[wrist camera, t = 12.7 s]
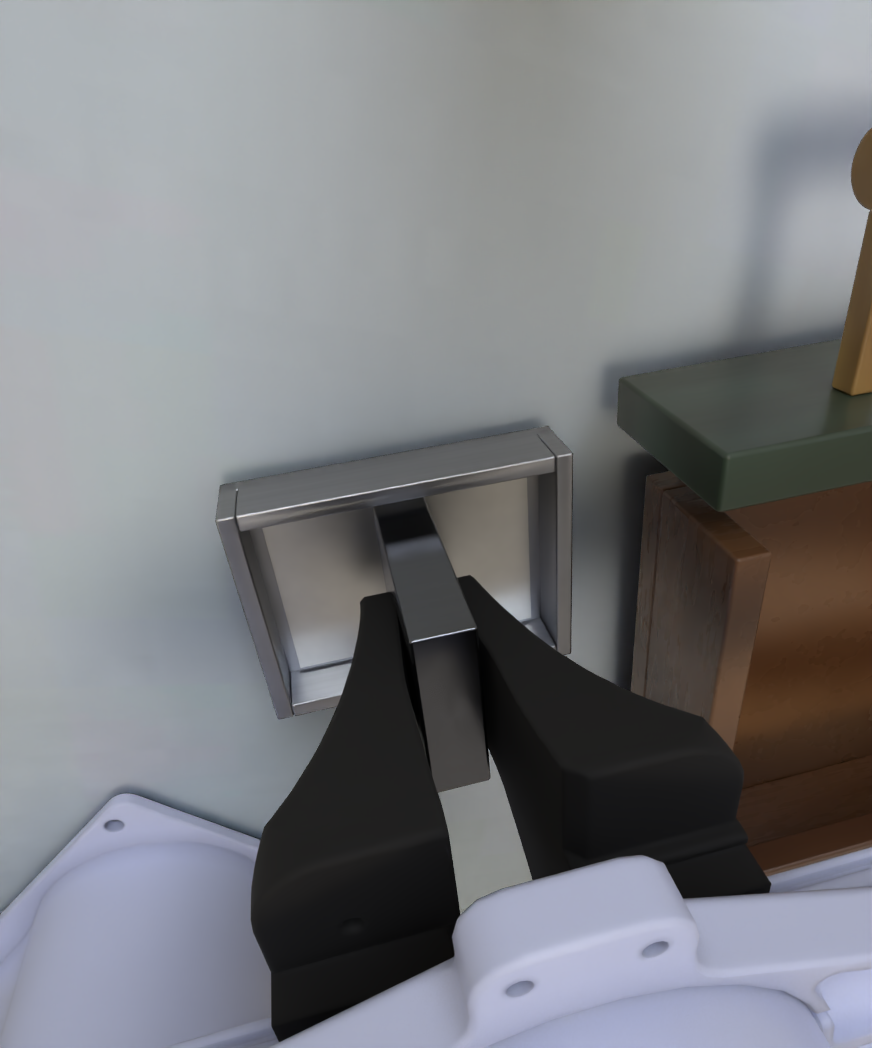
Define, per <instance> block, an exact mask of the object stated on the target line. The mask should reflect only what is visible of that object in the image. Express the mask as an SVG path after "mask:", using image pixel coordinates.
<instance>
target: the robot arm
mask: <svg viewBox="0 0 872 1048" xmlns="http://www.w3.org/2000/svg"><path fill="white" fill-rule="evenodd" d="M457 579H458V581H459V584H460V586H461V588H462V591H463V593H464V596H465V598H466V601H467V603H468V605H469V608H470V610H471V613H472V615H473V618H474V620H475V622H476V625H477V627H478V637H479V648H480V660H481V672H482V684H483V695H484V707H485V719H486V731H487V742H488V748H489V750H490V753H491V755H492V757H493V760H494V762H495V764H496V767H497V769H498V772H499V774H500V777H501V780H502V782H503V785H504V788H505V791H506V794H507V798H508V801H509V804H510V807H511V810H512V813H513V817H514V820H515V823H516V826H517V829H518V833H519V836H520V839H521V843H522V846H523V849H524V852H525V856H526V859H527V862H528V866H529V869H530V872H531V876H532V879H533V880H532V881H529V882H525V883H521V884H518V885H514V886H510V887H506V888H503V889H500V890H498V891H495V892H493V893H491V894H488V895H486V896H484V897H482V898H479V899H477V900H476V901H475V902H474V903H473V904H472V905H470V906H469V907H468V908H467V909H466V910H465V911H464V912H463V913H462V914H461V915H460V909H459V902H458V895H457V888H456V881H455V874H454V867H453V860H452V853H451V846H450V839H449V833H448V829H447V825H446V821H445V817H444V813H443V809H442V805H441V802H440V799H439V795H438V792H437V789H436V786H435V783H434V780H433V777H432V773H431V770H430V767H429V764H428V760H427V757H426V754H425V750H424V747H423V743H422V740H421V737H420V733H419V729H418V726H417V722H416V719H415V715H414V712H413V707H412V701H411V695H410V689H409V683H408V676H407V670H406V664H405V658H404V652H403V646H402V640H401V634H400V628H399V622H398V615H397V612H396V608H395V605H394V602H393V599H392V595H391V592H385V593H381V594H376V595H371V596H366V597H364V598H363V599H362V600H361V601H360V623H359V630H358V637H357V642H356V646H355V651H354V655H353V659H352V663H351V667H350V670H349V673H348V676H347V680H346V683H345V686H344V689H343V692H342V695H341V698H340V700H339V703H338V705H337V708H336V710H335V713H334V715H333V717H332V720H331V722H330V724H329V726H328V728H327V730H326V732H325V734H324V736H323V738H322V740H321V742H320V745H319V746H318V748H317V750H316V752H315V754H314V756H313V757H312V759H311V761H310V762H309V764H308V766H307V767H306V769H305V770H304V772H303V774H302V775H301V777H300V778H299V780H298V782H297V783H296V785H295V786H294V788H293V789H292V791H291V792H290V794H289V795H288V797H287V798H286V799H285V801H284V802H283V803H282V805H281V806H280V807H279V809H278V810H277V811H276V813H275V814H274V815H273V817H272V818H271V819H270V820H269V822H268V823H267V824H266V826H265V827H264V830H263V833H262V837H261V840H259V839H257V838H254V837H251V836H248V835H246V834H243V833H240V832H237V831H235V830H232V829H229V828H226V827H224V826H221V825H218V824H215V823H213V822H210V821H207V820H204V819H202V818H199V817H196V816H193V815H191V814H188V813H185V812H182V811H179V810H177V809H174V808H171V807H168V806H166V805H163V804H160V803H157V802H155V801H152V800H149V799H146V798H144V797H141V796H138V795H135V794H131V793H125V794H120V795H117V796H115V797H113V798H112V799H110V800H109V801H108V802H107V803H106V804H105V805H104V807H103V808H102V809H101V810H100V811H99V812H98V813H97V814H96V815H95V816H94V817H93V818H92V819H91V820H90V821H89V822H88V823H87V824H86V825H85V826H84V827H83V828H82V829H81V831H80V832H79V833H78V834H77V835H76V836H75V837H74V838H73V839H72V840H71V841H70V842H69V843H68V844H67V845H66V846H65V847H64V848H63V849H62V850H61V851H60V852H59V854H58V855H57V856H56V857H55V858H54V859H53V860H52V861H51V862H50V863H49V864H48V865H47V866H46V867H45V868H44V869H43V870H42V871H41V872H40V873H39V874H38V875H37V877H36V878H35V879H34V880H33V881H32V882H31V883H30V884H29V885H28V886H27V887H26V888H25V889H24V890H23V891H22V892H21V893H20V894H19V895H18V896H17V897H16V898H15V899H14V901H13V902H12V903H11V904H10V905H9V906H8V907H7V908H6V909H5V910H4V911H3V912H2V913H1V914H0V1048H872V847H870V848H866V849H863V850H859V851H856V852H852V853H848V854H845V855H841V856H838V857H834V858H831V859H827V860H824V861H820V862H817V863H813V864H810V865H806V866H803V867H799V868H795V869H792V870H788V871H785V872H781V873H778V874H774V875H771V876H766V875H765V873H764V872H763V870H762V869H761V867H760V866H759V864H758V863H757V861H756V859H755V858H754V856H753V855H752V853H751V852H750V850H749V849H748V847H747V846H746V843H747V842H748V836H747V833H746V831H745V830H744V828H743V827H742V826H741V824H740V823H739V821H738V820H737V818H736V815H737V810H738V806H739V801H740V796H741V792H742V787H743V779H744V770H743V768H742V766H741V763H740V761H739V759H738V758H737V757H736V755H735V754H734V753H733V751H732V750H731V749H730V747H729V746H728V745H727V743H726V742H725V741H724V740H723V739H722V737H721V736H720V735H719V734H718V733H717V732H716V731H715V730H714V729H713V728H712V727H711V726H710V725H709V723H708V722H707V721H706V720H705V719H704V718H703V717H701V716H698V715H694V714H691V713H688V712H685V711H682V710H679V709H676V708H673V707H669V706H666V705H663V704H660V703H658V702H655V701H653V700H650V699H648V698H645V697H643V696H640V695H638V694H635V693H633V692H631V691H628V690H626V689H624V688H622V687H619V686H617V685H615V684H613V683H611V682H609V681H607V680H605V679H603V678H601V677H599V676H597V675H595V674H594V673H592V672H590V671H588V670H586V669H585V668H583V667H581V666H580V665H578V664H576V663H575V662H573V661H572V660H570V659H568V658H567V657H565V656H564V655H562V654H561V653H559V652H558V651H557V650H555V649H554V648H552V647H551V646H550V645H548V644H547V643H546V642H544V641H543V640H542V639H540V638H539V637H538V636H536V635H535V634H534V633H533V632H531V631H530V630H529V629H528V628H526V627H525V626H524V625H523V624H522V623H521V622H519V621H518V620H517V619H516V618H515V617H514V616H513V615H511V614H510V613H509V612H508V611H507V610H506V609H505V608H504V607H503V606H502V605H500V604H499V603H498V602H497V601H496V600H495V599H494V598H493V597H492V596H491V595H490V594H489V593H488V592H487V591H486V590H485V589H484V588H483V587H482V586H481V584H480V583H479V582H478V581H477V580H476V579H475V578H474V577H472V576H471V575H467V576H462V577H458V578H457Z"/></svg>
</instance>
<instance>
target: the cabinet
mask: <svg viewBox="0 0 872 1048" xmlns="http://www.w3.org/2000/svg"><path fill="white" fill-rule="evenodd" d="M870 847H872V812H871V813H867V814H863V815H860V816H856V817H852V818H849V819H845V820H842V821H838V822H834V823H831V824H827V825H824V826H820V827H816V828H813V829H809V830H805V831H802V832H798V833H795V834H791V835H787V836H784V837H780V838H776V839H773V840H769V841H766V842H762V843H758V844H755V845H751V846H748V849H749V850H750V852H751V853H752V855H753V856H754V858H755V859H756V861H757V863H758V864H759V866H760V867H761V869H762V870H763V872H764V873H765V875H766V876H771V875H774V874H778V873H781V872H785V871H788V870H792V869H795V868H799V867H803V866H806V865H810V864H813V863H817V862H820V861H824V860H827V859H831V858H834V857H838V856H841V855H845V854H848V853H852V852H856V851H859V850H863V849H866V848H870Z"/></svg>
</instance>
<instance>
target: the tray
mask: <svg viewBox="0 0 872 1048" xmlns="http://www.w3.org/2000/svg"><path fill="white" fill-rule="evenodd" d="M572 499H573V453H572V452H571V451H570V450H569V449H568V447H567V446H566V445H565V444H564V443H563V442H562V441H561V440H560V439H559V438H558V436H557V435H556V434H555V433H554V432H553V431H552V430H551V429H550V428H549V427H548V426H543V427H538V428H532V429H527V430H521V431H516V432H510V433H505V434H499V435H494V436H488V437H483V438H477V439H472V440H466V441H461V442H455V443H450V444H444V445H438V446H433V447H427V448H422V449H416V450H411V451H405V452H400V453H394V454H389V455H383V456H378V457H372V458H367V459H361V460H356V461H350V462H345V463H339V464H334V465H328V466H323V467H317V468H312V469H306V470H301V471H295V472H289V473H284V474H278V475H273V476H267V477H262V478H256V479H251V480H245V481H240V482H234V483H229V484H223V485H220V489H219V497H218V505H217V513H216V520H215V522H216V525H217V528H218V531H219V534H220V537H221V541H222V544H223V547H224V550H225V553H226V556H227V560H228V563H229V566H230V569H231V572H232V575H233V579H234V582H235V585H236V588H237V591H238V594H239V598H240V601H241V604H242V607H243V610H244V613H245V617H246V620H247V623H248V626H249V629H250V633H251V636H252V639H253V642H254V645H255V648H256V652H257V655H258V658H259V661H260V664H261V667H262V671H263V674H264V677H265V680H266V683H267V686H268V690H269V693H270V696H271V699H272V702H273V705H274V709H275V712H276V715H277V718H278V719H284V718H289V717H292V716H293V715H295V716H297V715H302V714H306V713H311V712H315V711H320V710H324V709H328V708H333V707H337V705H338V703H339V700H340V698H341V695H342V692H343V689H344V686H345V683H346V680H347V676H348V673H349V670H350V667H351V663H352V659H353V655H354V651H355V646H356V642H357V637H358V630H359V623H360V601H361V600H362V599H363V598H364V597H366V596H371V595H376V594H381V593H385V592H391V595H392V599H393V602H394V605H395V608H396V612H397V615H398V622H399V628H400V634H401V640H402V646H403V652H404V658H405V664H406V670H407V676H408V683H409V689H410V695H411V701H412V707H413V712H414V715H415V719H416V722H417V726H418V729H419V733H420V737H421V740H422V743H423V747H424V750H425V754H426V757H427V760H428V764H429V767H430V770H431V773H432V777H433V780H434V783H435V786H436V789H437V792H442V791H446V790H450V789H454V788H458V787H462V786H466V785H470V784H474V783H478V782H482V781H486V780H489V779H490V766H489V754H488V742H487V731H486V719H485V707H484V695H483V684H482V672H481V660H480V648H479V637H478V627H477V625H476V622H475V620H474V618H473V615H472V613H471V610H470V608H469V605H468V603H467V601H466V598H465V596H464V593H463V591H462V588H461V586H460V584H459V581H458V579H457V578H458V577H462V576H467V575H471V576H472V577H474V578H475V579H476V580H477V581H478V582H479V583H480V584H481V586H482V587H483V588H484V589H485V590H486V591H487V592H488V593H489V594H490V595H491V596H492V597H493V598H494V599H495V600H496V601H497V602H498V603H499V604H500V605H502V606H503V607H504V608H505V609H506V610H507V611H508V612H509V613H510V614H511V615H513V616H514V617H515V618H516V619H517V620H518V621H519V622H521V623H522V624H523V625H524V626H525V627H526V628H528V629H529V630H530V631H531V632H533V633H534V634H535V635H536V636H538V637H539V638H540V639H542V640H543V641H544V642H546V643H547V644H548V645H550V646H551V647H552V648H554V649H555V650H557V651H558V652H559V653H561V654H562V655H567V654H570V653H571V610H572Z"/></svg>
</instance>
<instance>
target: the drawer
mask: <svg viewBox="0 0 872 1048" xmlns="http://www.w3.org/2000/svg"><path fill="white" fill-rule="evenodd" d="M851 183H852V188H853V192H854V195H855V197H856V199H857V200H858V202H859V203H860V204H861V205H862V206H863V207H865V208H867V209H869V210H870V212H869V215H868V220H867V225H866V229H865V234H864V238H863V243H862V248H861V252H860V257H859V261H858V266H857V271H856V275H855V280H854V284H853V289H852V294H851V298H850V303H849V307H848V312H847V317H846V321H845V326H844V330H843V335H842V339H837V340H832V341H826V342H820V343H814V344H809V345H803V346H797V347H792V348H786V349H780V350H775V351H769V352H763V353H757V354H752V355H746V356H740V357H735V358H729V359H723V360H718V361H712V362H706V363H700V364H695V365H689V366H683V367H678V368H672V369H666V370H660V371H655V372H649V373H643V374H638V375H632V376H626V377H621V378H620V379H619V389H618V411H617V424H618V426H619V427H620V428H621V429H622V430H624V431H625V432H626V433H627V434H628V435H629V436H630V437H632V438H633V439H634V440H635V441H636V442H637V443H639V444H640V445H641V446H642V447H643V448H644V449H645V450H647V451H648V452H649V453H650V454H651V455H652V456H653V457H655V458H656V459H657V460H658V461H659V462H660V463H661V464H663V465H664V466H665V467H666V468H667V469H668V470H670V471H667V472H662V473H657V474H652V475H647V476H646V488H645V502H644V515H643V529H642V543H641V556H640V570H639V584H638V598H637V611H636V625H635V639H634V653H633V666H632V680H631V692H633V693H635V694H638V695H640V696H643V697H645V698H648V699H650V700H653V701H655V702H658V703H660V704H663V705H666V706H669V707H673V708H676V709H679V710H682V711H685V712H688V713H691V714H694V715H698V716H701V717H703V718H704V719H705V720H706V721H707V722H708V723H709V725H710V726H711V727H712V728H713V729H714V730H715V731H716V732H717V733H718V734H719V735H720V736H721V737H722V739H723V740H724V741H725V742H726V743H727V745H728V746H729V747H730V749H731V750H732V751H733V753H734V754H735V755H736V757H737V758H738V759H739V761H740V763H741V766H742V768H743V770H744V779H743V787H742V792H741V796H740V801H739V806H738V810H737V815H736V818H737V820H738V821H739V823H740V824H741V826H742V827H743V828H744V830H745V831H746V833H747V836H748V842H747V843H746V846H747V847H748V846H751V845H755V844H758V843H762V842H766V841H769V840H773V839H776V838H780V837H784V836H787V835H791V834H795V833H798V832H802V831H805V830H809V829H813V828H816V827H820V826H824V825H827V824H831V823H834V822H838V821H842V820H845V819H849V818H852V817H856V816H860V815H863V814H867V813H871V812H872V128H871V129H870V130H869V131H868V132H867V133H866V134H865V136H864V137H863V139H862V140H861V142H860V144H859V146H858V148H857V150H856V153H855V156H854V159H853V163H852V169H851Z"/></svg>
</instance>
